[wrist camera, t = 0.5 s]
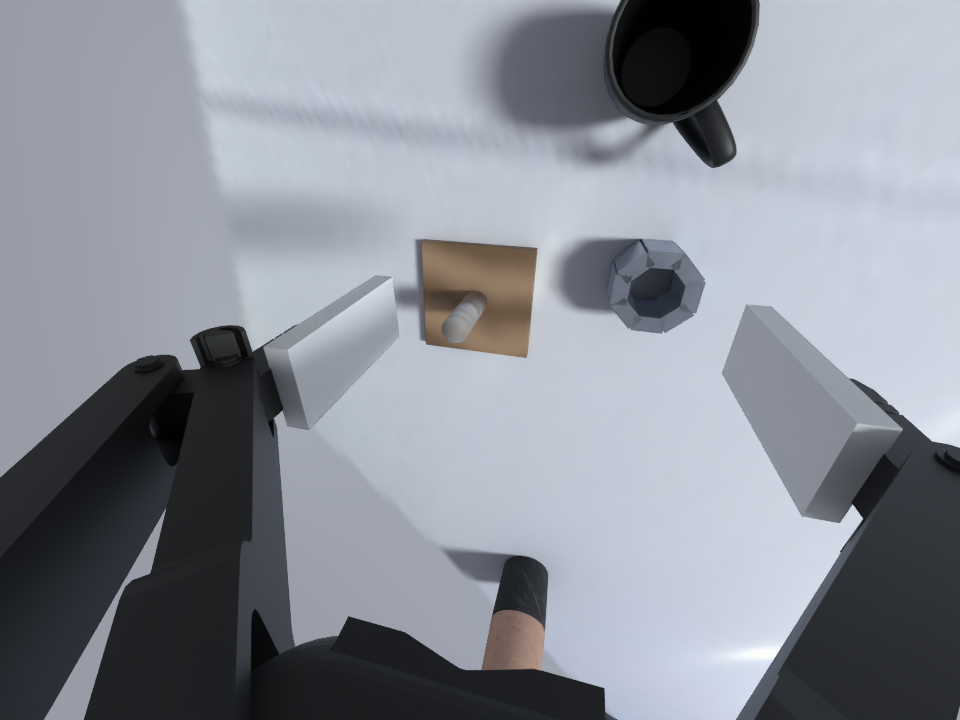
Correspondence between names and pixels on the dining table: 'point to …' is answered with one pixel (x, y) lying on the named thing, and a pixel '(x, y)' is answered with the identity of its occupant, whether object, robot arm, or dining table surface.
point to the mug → (680, 66)
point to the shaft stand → (478, 296)
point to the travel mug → (518, 617)
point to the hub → (668, 305)
